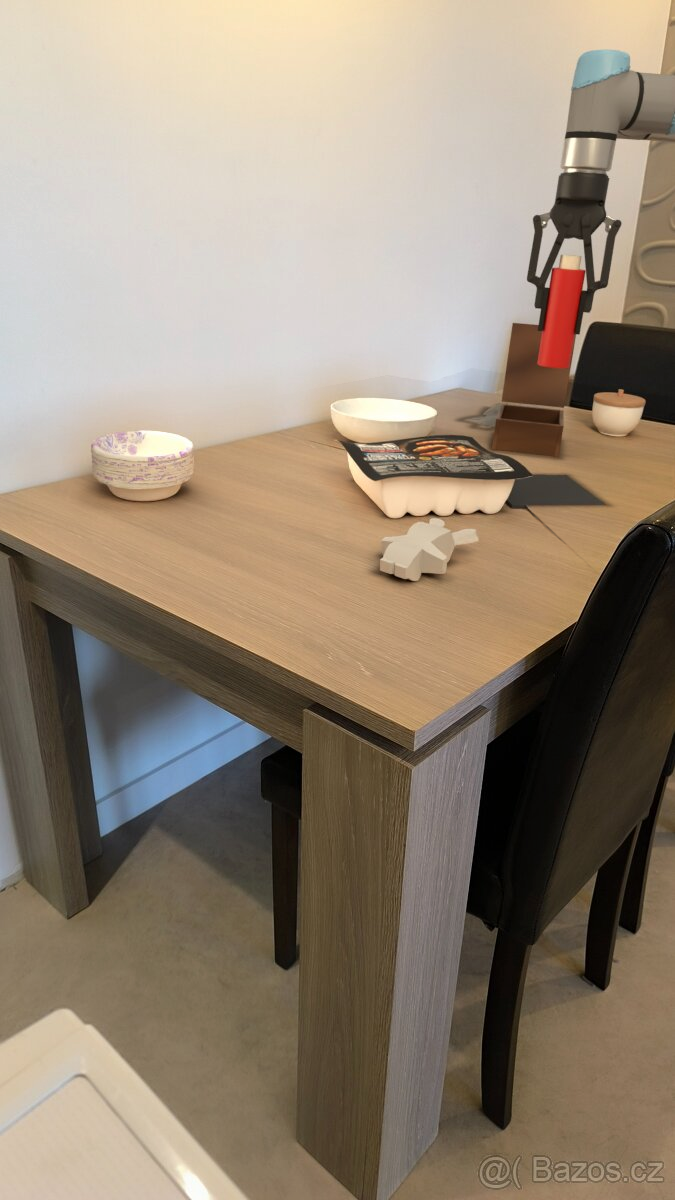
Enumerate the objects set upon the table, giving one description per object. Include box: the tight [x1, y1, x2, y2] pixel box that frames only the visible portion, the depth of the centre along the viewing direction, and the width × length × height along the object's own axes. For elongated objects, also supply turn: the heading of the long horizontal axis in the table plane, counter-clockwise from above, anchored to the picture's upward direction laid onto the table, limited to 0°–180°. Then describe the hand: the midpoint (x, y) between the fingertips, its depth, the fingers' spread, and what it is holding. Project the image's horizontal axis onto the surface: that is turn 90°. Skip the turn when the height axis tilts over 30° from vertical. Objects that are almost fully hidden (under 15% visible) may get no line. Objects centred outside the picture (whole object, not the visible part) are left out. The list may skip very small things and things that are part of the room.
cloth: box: [465, 402, 509, 429], centre depth 186 cm, size 26×14×2 cm, turn 148°
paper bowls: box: [90, 430, 195, 502], centre depth 127 cm, size 15×15×8 cm
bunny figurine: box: [379, 517, 480, 582], centre depth 107 cm, size 10×5×15 cm
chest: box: [491, 403, 565, 458], centre depth 164 cm, size 15×13×7 cm
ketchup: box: [537, 254, 586, 368], centre depth 134 cm, size 5×5×17 cm
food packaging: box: [334, 434, 534, 519], centre depth 131 cm, size 25×8×23 cm
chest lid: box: [501, 322, 577, 409], centre depth 167 cm, size 15×13×1 cm
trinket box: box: [591, 388, 646, 437], centre depth 179 cm, size 11×11×9 cm
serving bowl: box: [330, 397, 438, 443], centre depth 162 cm, size 21×21×7 cm
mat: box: [505, 474, 607, 509], centre depth 139 cm, size 16×16×1 cm
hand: (558, 331), depth 135 cm, fingers closed on ketchup, 5 cm apart
